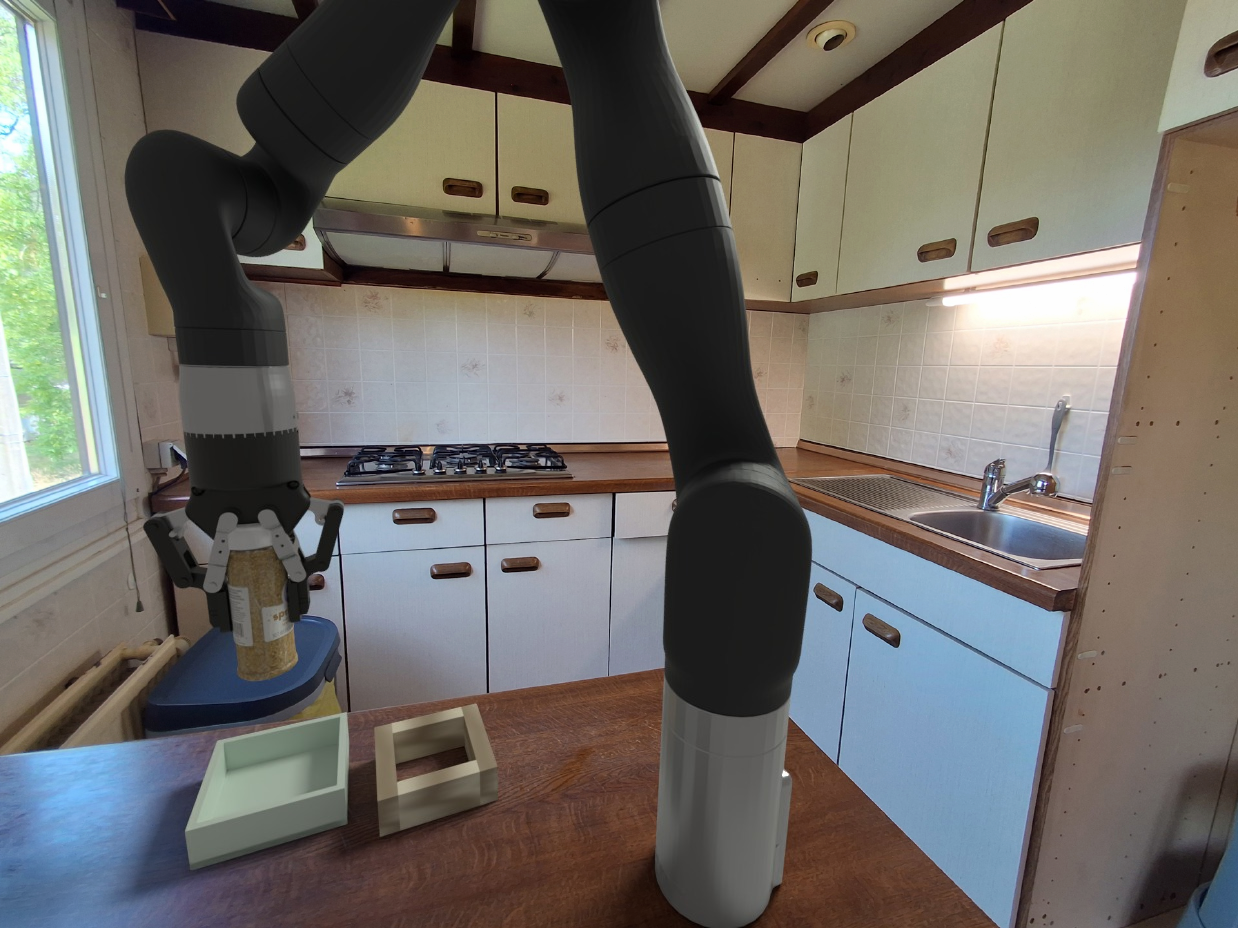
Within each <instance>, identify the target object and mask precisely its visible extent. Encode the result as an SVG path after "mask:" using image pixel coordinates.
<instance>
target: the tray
mask: <svg viewBox="0 0 1238 928" xmlns="http://www.w3.org/2000/svg"><path fill="white" fill-rule="evenodd" d="M348 722H349V720H348V713H347V711H345V712H342V713H341V712H340V713H336V714H332V715H327V716H322V717H318V718H313V719H309V720H304V721H300V722H296V723H295V722H294V723H292V724H286V725H283V726H277V727H274V728H273V727H272V728H269V729H264V730H260V731H255V732H251V733H246V734H242V735H236V736H233V737H228V738H224V739H218V740H217V741H216V742H215V743H216V744H215V746H214V749H213V752H212V754H211V757H210V760H209V762H208V766H207V768H206V771H205V775H204V776H203V779H202V783H201V786H200V789H199V791H198V794H197V797H196V799H195V802H194V804H193V808H192V811H191V813H190V816H189V819H188V821H187V825H186V827H185V830H184V835H185V841H186V842H185V843H186V849H187V856H188V863H189V868H190V869H189V870H190V872H192V871H194V870H197V869H198V870H199V869H201V868H205V867H208V866H212V865H216V864H218V863H222V862H225V861H228V860H232V859H234V858H235V859H236V858H239V857H241V856H244V855H248V854H253V853H255V852H258V851H261V850H262V851H263V850H265V849H269V848H273V847H275V846H278V845H282V844H285V843H289V842H292V841H295V840H299V839H302V838H305V837H308V836H312V835H315V834H319V833H322V832H325V831H329V830H332V829H336V828H339V827H342V826H345V825H348V818H349V817H348V814H349V812H348V811H349V810H348V809H349V772H350V771H349V770H350V766H349V763H350V762H349V761H350V737H349V736H350V735H349V724H348Z"/></svg>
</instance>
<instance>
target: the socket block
mask: <svg viewBox="0 0 1238 928" xmlns="http://www.w3.org/2000/svg"><path fill="white" fill-rule="evenodd" d="M373 728H374V748H375V749H374V750H375V751H374V752H375V770H376V771H375V774H376V777H375V778H376V795H377V797H376V798H377V811H378V812H377V813H378V814H377V815H378V826H379V827H378V829H379V838H380V837H381V838H382V837H384V836H388V835H391V834H394V833H398V832H400V831H403V830H406V829H410V828H414V827H416V826H419V825H423V824H426V823H429V822H431V821H435V820H438V819H441V818H445V817H447V816H451V815H455V814H457V813H460V812H463V811H467V810H471V809H473V808H475V807H480V806H483V805H486V804H488V803H492V802H495V801H498V800H499V777H498V776H499V774H498V773H499V772H498V770H499V765H498V764H497V761H496V758H495V755H494V752H493V748H492V746H491V743H490V741H489V737H488V734H487V730H486V727H485V725H484V722H483V719H482V716H481V713H480V710H479V707H478V704H477V703H472V704H468V705H464V706H459V707H455V708H451V709H446V710H441V711H438V712H434V713H430V714H426V715H421V716H417V717H413V718H409V719H404V720H400V721H396V722H391V723H389V724H388V723H387V724H383V725H378V726H374V727H373ZM461 747H464V749H465V752H466V757H467V760H468V761H467V762H464V763H459V764H456V765H453V766H449V767H446V768H442V769H440V770H435V771H432V772H428V773H425V774H420V775H417V776H414V777H410V778H405V779H403V780H400V781H398V780H397V779H398V778H397V768H396V766H397V765H398V764H401V763H405V762H409V761H414V760H416V759H420V758H421V759H422V758H423V757H428V756H431V755H435V754H439V753H443V752H447V751H450V750H453V749H457V748H461Z"/></svg>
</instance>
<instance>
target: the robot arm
mask: <svg viewBox="0 0 1238 928" xmlns="http://www.w3.org/2000/svg"><path fill="white" fill-rule="evenodd" d="M460 1H461V0H323V1H321V2H320V4H319V5H318V6H317V7H316V8H315V9H314V10H313V11H312V12H311V13H310V14H309V16H308V17H307V18H306V19H305V20H304V21H303V22H301V24H300V25H299V26H298V27H297V28H296V29H294V30H293V31H292V33H290V34H289V35H288V37H287V38H286V39H285V40H284V41H283V42H282V43H281V44H280V45H279V46H278V47H277V48H276V49H275V50H273V51H272V53H271V54H270V55H269V56H267V58H266V59H265V60H263V62H261V64H260V65H259V66H258V67H257V68H256V69H255V70H254V71H253V72H252V73H251V74H250V75H249V76H248V77H247V79H245V80H244V82H243V83H242V85H241V86H240V88H239V90H238V92H237V93H236V99H235V104H236V110H237V114H238V116H239V119H240V121H241V123H242V126H244V128H245V129H246V131H247V132H248V134H249V135H250V136H251V138H252V139H253V141H254V142H255V143H254V144H253V146H252V147H251V149H250V150H249V151H247V152H246V153H245V154H243V155H239V154H237V153H234V152H231V151H230V150H228V149H225V148H222V147H220V146H218V145H215V144H213V143H211V142H209V141H207V140H205V139H202V138H200V137H197V136H194V135H192V134H190V133H188V132H184V131H180V130H176V129H166V128H165V129H157V130H153V131H150V132H148V133H146V134H145V135H143V136H142V137H140V138H139V139H138V140H137V142H136V143H135V144H134V146H132V148H131V149H130V152H129V154H128V157H127V160H126V162H125V163H126V164H125V170H124V190H125V191H124V192H125V196H126V202H127V205H128V209H129V212H130V214H131V217H132V221H133V223H134V226H135V228H136V229H137V231H138V232H137V233H138V235H139V237H140V239H141V241H142V243H143V246H144V249H145V250H146V252H147V254H148V257H149V259H150V261H151V264H152V267H153V269H154V271H155V274H156V276H157V278H158V281H159V283H160V285H161V287H162V289H163V291H164V293H165V295H166V297H167V300H168V302H169V304H170V307H171V309H172V310H171V311H172V315H173V319H172V320H173V326H174V335H175V343H176V351H177V352H176V353H177V359H178V364H179V366H178V367H179V368H178V369H179V378H178V379H179V381H178V382H179V383H178V402H179V403H178V404H179V408H180V409H179V410H180V416H181V425H182V426H181V427H182V432H183V442H184V450H185V458H186V464H187V465H186V466H187V473H188V480H189V488H190V494H189V499H188V500H187V502H186V504H185V506H184V507H181V508H178V509H173V510H172V511H166V510H161V511H158V512H155V514H153V515H152V516H151V517H150V518H148V519H147V520H146V521H145V522H144V523H143V526H142V528H143V529H142V530H143V531H144V533H145V535H146V537H147V538H148V539H149V541H150V543H151V545H152V547H153V548H154V551H155V552H156V554H157V555H158V557H159V560H160V561H161V563H162V565H163V566H164V568H165V570H166V572H167V573H168V575H169V577H170V579H171V580H172V582H173V584H174V586H175V587H176V588H179V589H189V588H194V589H199V590H201V591H203V592H204V593H205V595H206V604H207V611H208V621H209V624H210V625H211V626H212V628H213V629H215V628H219V632H220V634H227V633H233V629H232V620H231V611H230V603H229V595H228V587H227V581H228V579H227V565H228V560H229V554H230V551H231V550H230V549H229V546H228V534H229V533H231V532H233V531H234V530H235V529H236V527H237V525H238V524H252V523H261V525H262V528H264V529H266V530H270V531H271V534H272V543H273V544H272V546H273V548H274V550H275V552H276V554H277V556H278V558H279V559H280V560H281V561H282V562H283V564H284V566H285V568H286V570H287V572H288V578H289V580H288V584H287V586H288V596H289V606H290V617H291V623H294V624H296V623H300V622H302V618H303V615H307V614H308V612H309V610H310V607H311V606H310V605H311V596H310V595H311V594H310V582H309V581H310V580H309V578H310V576H312V575H314V574H317V573H322V572H326V571H327V570H329V568H330V566H331V565H330V564H331V560H332V557H333V554H334V553H333V552H334V550H335V546H336V542H337V540H338V536H339V532H340V531H339V530H340V527H341V523H342V520H343V516H344V513H345V502H344V501H343V500H342V499H341V498H337V497H336V498H333V499H331V500H329V499H325V498H324V499H323V498H320V497H319V498H318V497H313V496H311V493H310V491H308V489H307V488H306V486H305V484H304V480H303V469H302V458H301V456H302V455H301V445H300V444H301V443H300V435H299V425H298V424H299V422H298V420H299V418H300V417H299V409H298V407H297V400H296V392H295V388H294V383H293V379H292V376H291V371H290V370H291V369H290V366H289V365H290V360H289V349H288V337H287V328H286V319H285V313H284V308H283V306H282V303H281V301H280V300H279V298H278V297H277V296H276V295H274V294H273V293H271V292H270V291H268V290H266V289H263V288H262V287H260V286H258V285H256V284H254V283H253V282H252V281H250V279H249V278H248V277H247V275H246V273H245V272H244V269H243V266H242V265H241V261H240V259H239V257H238V256H243V257H246V258H265V257H269V256H271V255H275V254H277V253H279V252H281V251H283V250H284V249H287V248H288V247H289V246H291V245H293V243H294V242H295V241H297V240H298V238H299V237H301V235H302V233H303V232H304V231H305V230H306V228H307V226H308V224H309V223H310V221H311V219H312V218H313V216H314V214H316V211H317V210H318V208H319V207H320V205H321V203H322V202H323V201H324V199H325V197H326V195H327V193H328V190H329V189H330V187H331V184H332V182H333V181H334V179H335V177H336V176H337V175H338V174H339V173H340V172H341V171H343V170H344V169H345V168H346V167H348V165H350V164H351V163H352V162H353V161H354V160H355V159H356V158H357V157H359V156H360V155H361V154H362V153H363V152H364V151H365V150H367V149H368V148H369V147H370V146H371V145H372V144H373V143H374V142H375V141H377V140H378V139H379V138H380V137H382V135H384V133H385V132H387V131H388V130H389V128H390V127H391V126H393V125H394V123H396V121H397V120H398V118H400V116H401V115H402V114H403V112H404V111H405V110H406V109H407V107H408V105H409V103H410V102H411V101H412V98H413V97H414V95H415V93H416V92H417V91H416V90H417V89H418V87H419V85H420V83H421V80H422V78H423V76H424V74H425V71H426V69H427V67H428V64H429V62H430V60H431V57H432V54H433V52H434V50H435V47H436V44H437V43H438V41H439V40H440V39H439V38H440V37H441V34H442V33H443V31H444V29H445V27H446V24H447V22H449V19H450V18H451V16H452V14H453V13H454V11H455V9H456V8H457V6H458V4H459V3H460ZM537 3H538V4H539V7H540V11H541V12H542V16H543V17H544V20H545V23H546V26H547V28H548V31H549V33H550V34H549V35H550V37H551V39H552V42H553V45H554V49H555V50H556V53H557V57H558V59H559V62H560V64H561V67H562V71H563V74H564V78H565V81H566V85H567V90H568V93H569V98H570V104H571V111H572V114H571V115H572V124H573V125H572V126H573V128H572V129H573V140H574V142H573V143H574V155H575V156H574V157H575V166H576V167H575V168H576V177H577V183H578V184H577V185H578V190H579V191H578V192H579V198H580V201H581V206H582V212H583V216H584V220H585V225H586V228H587V231H588V235H589V239H590V242H591V246H592V251H593V253H594V257H595V261H596V264H597V268H598V271H599V275H600V278H601V282H602V284H603V286H604V287H603V288H604V291H605V293H606V296H607V298H608V301H609V304H610V307H611V308H612V312H613V313H614V316H615V319H616V321H617V323H618V325H619V328H620V330H621V332H622V335H623V337H624V338H625V341H626V343H627V345H628V347H629V349H630V352H631V354H632V355H633V358H634V360H635V362H636V363H637V365H638V367H639V369H640V372H641V373H642V375H643V378H644V379H645V382H646V384H647V386H648V388H649V390H650V392H651V395H652V397H653V399H654V401H655V404H656V407H657V410H658V412H659V415H660V419H661V423H662V427H663V431H664V435H665V440H666V444H667V449H668V454H669V458H670V463H671V470H672V476H673V482H674V490H675V499H676V501H675V502H676V505H675V507H674V510H673V513H672V515H671V518H670V522H669V526H668V529H667V537H666V549H665V561H664V562H665V565H664V569H665V570H664V590H663V592H664V594H663V597H664V598H663V623H662V625H663V627H662V629H663V630H662V646H663V652H664V669H663V670H664V671H663V688H662V689H663V691H662V711H661V716H662V717H661V729H660V730H661V732H660V734H661V736H660V750H659V751H660V752H659V753H660V754H659V771H658V772H659V773H658V774H659V775H658V793H657V795H658V797H657V813H656V833H655V834H656V836H655V844H654V845H655V847H654V853H655V857H654V858H655V859H654V860H655V861H654V862H655V863H654V872H655V873H654V874H655V877H656V882H657V884H658V885H659V889H660V891H661V894H663V896H664V898H665V899H666V900H667V902H668V903H669V904H670V905H671V906H672V907H673V908H674V910H676V911H677V912H678V913H679V914H680V915H682V916H684V917H685V918H687V919H688V920H689V921H691V922H693V923H695V924H698V925H700V926H702V927H707V928H742V927H745V926H747V925H749V924H751V923H752V922H754V921H756V919H758V918H759V917H760V916H761V915H762V914H763V913H764V911H765V910H766V908H767V906H768V905H769V902H770V899H771V898H770V897H771V895H772V891H773V889H774V888H775V887H777V886H779V885H780V884H781V885H782V883H783V873H784V864H785V858H786V857H785V854H786V845H787V837H788V836H787V835H788V827H789V826H788V825H789V816H790V807H791V799H792V798H791V797H792V790H793V789H792V787H793V779H792V777H791V774H790V773H789V772H788V771H787V770H786V769H785V758H786V747H787V739H788V738H787V737H788V729H789V727H788V726H789V716H790V707H791V697H792V687H793V679H794V674H795V673H796V671H797V669H798V667H799V664H800V659H801V655H802V648H803V640H804V633H805V623H806V617H807V609H808V608H807V607H808V600H809V593H810V583H811V574H812V563H813V539H812V532H811V527H810V523H809V520H808V517H807V516H806V513H805V511H804V509H803V507H802V506H801V504H800V503H801V502H800V501H799V499H798V497H797V494H796V493H795V490H794V489H793V487H792V484H791V483H790V481H789V479H788V477H787V475H786V473H785V470H784V468H783V465H782V463H781V461H780V457H779V455H778V453H777V450H776V447H775V444H774V442H773V439H772V436H771V433H770V430H769V427H768V424H767V421H766V419H765V415H764V412H763V410H762V406H761V403H760V401H759V400H760V399H759V396H758V393H757V390H756V385H755V380H754V375H753V369H752V368H753V367H752V360H751V349H750V338H749V337H750V336H749V326H748V314H747V306H746V299H745V293H744V292H745V291H744V284H743V277H742V271H741V266H740V260H739V254H738V249H737V243H736V239H735V234H734V230H733V226H732V222H731V217H730V214H729V210H728V205H727V202H726V198H725V194H724V190H723V186H722V182H721V178H720V175H719V171H718V168H717V164H716V162H715V158H714V155H713V152H712V149H711V147H710V144H709V142H708V139H707V136H706V133H705V130H704V129H703V126H702V123H701V121H700V118H699V116H698V113H697V111H696V110H695V109H696V108H695V107H694V105H693V103H692V100H691V98H690V96H689V94H688V93H687V90H686V88H685V86H684V84H683V81H682V80H681V78H680V76H679V73H678V70H677V68H676V66H675V64H674V63H675V62H674V60H673V58H672V56H671V52H670V49H669V46H668V45H669V44H668V42H667V38H666V33H665V30H664V29H665V28H664V26H663V25H664V23H663V20H662V15H661V14H662V12H661V8H660V1H659V0H537ZM308 511H310V512H312V513H313V514H314V522H315V523H316V524H317V525H318V526H322V529H321V533H320V537H319V540H318V544H317V548H316V552H315V553H313V554H310V555H308V556H306V555H305V553H304V551H303V549H302V547H301V543H300V540H299V538H298V536H297V534H296V531H295V529H296V527H297V525H298V524H299V523H300V522H301V520H302V519H303V518H304V516H305V515H306V513H307V512H308ZM188 521H190V522H192V523H193V524H194V525H195V526H196V527H198V529H199V530H201V531H202V532H204V534H205V535H206V536H208V537H209V538H210V539H211V540H212V541H213V542H212V543H213V544H212V546H211V551H210V554H209V559H208V562H207V565H208V566H207V567H203V566H200V564H199V562H198V560H197V559H196V557H195V555H194V552H193V551H192V550H191V547H190V546H189V544H188V542H187V540H186V538H185V537H184V536H185V535H186V533H188V530H189V527H188ZM276 535H279V536H276ZM223 540H225V541H223ZM281 544H283V545H281Z"/></svg>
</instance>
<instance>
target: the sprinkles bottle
mask: <svg viewBox="0 0 1238 928" xmlns="http://www.w3.org/2000/svg"><path fill="white" fill-rule="evenodd" d="M276 536H279V535H276ZM223 541H225V540H223ZM272 544H273V543H272V534H271V531H270V530H266V529H264V528H262V525H261V523H252V524H238V525H237V527H236V529H235V530H234V531H233V532H231V533H229V534H228V546H229V549H230V550H231V551H230V554H229V560H228V565H227V587H228V595H229V603H230V611H231V620H232V629H233V630H232V634H233V641H234V643H235V649H236V659H237V668H236V674H237V676H238V677H239V678H241V679H242V680H245V681H249V682H257V681H259V682H260V681H266V680H270V679H273V678H276V677H279V676H280V675H283V674H285V673H287V672H288V671H290V670H292V669H293V667H295V665H297V663H298V661H299V656H298V652H297V651H296V641H295V631H294V626H295V623H291V617H290V606H289V596H288V586H287V584H288V580H289V574H288V572H287V570H286V568H285V566H284V564H283V562H282V561H281V560H280V559H279V558H278V556H277V554H276V552H275V550H274V548H273V546H272ZM281 545H283V544H281Z"/></svg>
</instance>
